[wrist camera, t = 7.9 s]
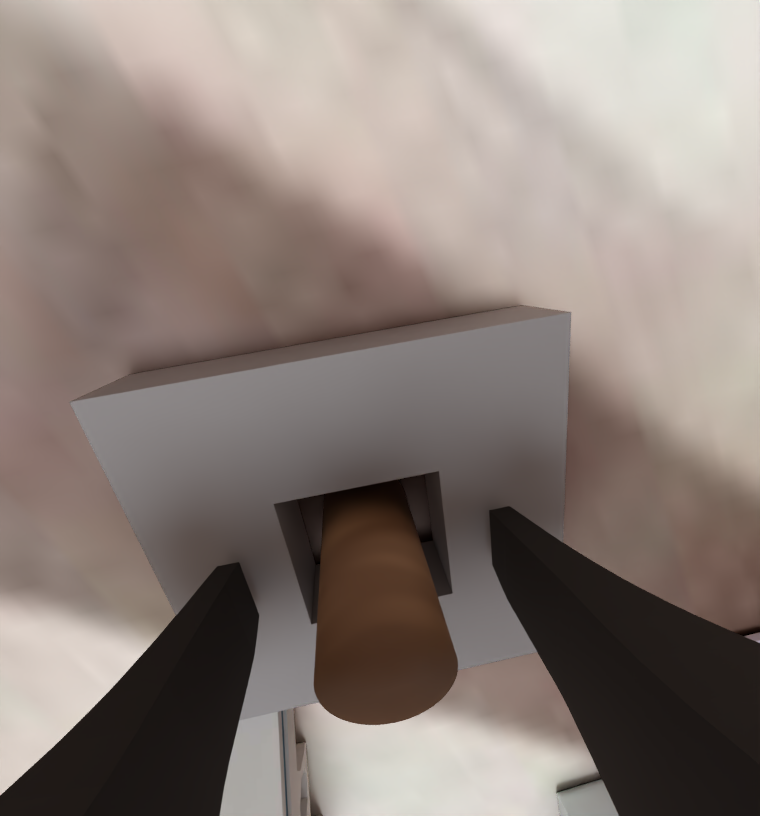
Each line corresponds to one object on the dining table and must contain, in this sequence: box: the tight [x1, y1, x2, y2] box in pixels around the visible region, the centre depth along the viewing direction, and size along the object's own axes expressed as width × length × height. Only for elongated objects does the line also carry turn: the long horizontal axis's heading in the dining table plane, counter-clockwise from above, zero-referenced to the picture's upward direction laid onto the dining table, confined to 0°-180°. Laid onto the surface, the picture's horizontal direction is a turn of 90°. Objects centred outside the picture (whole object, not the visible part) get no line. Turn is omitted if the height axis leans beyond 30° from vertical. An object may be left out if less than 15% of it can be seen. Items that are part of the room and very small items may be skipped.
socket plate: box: [70, 305, 571, 721], centre depth 12 cm, size 12×12×2 cm
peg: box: [314, 480, 458, 725], centre depth 10 cm, size 3×3×6 cm
